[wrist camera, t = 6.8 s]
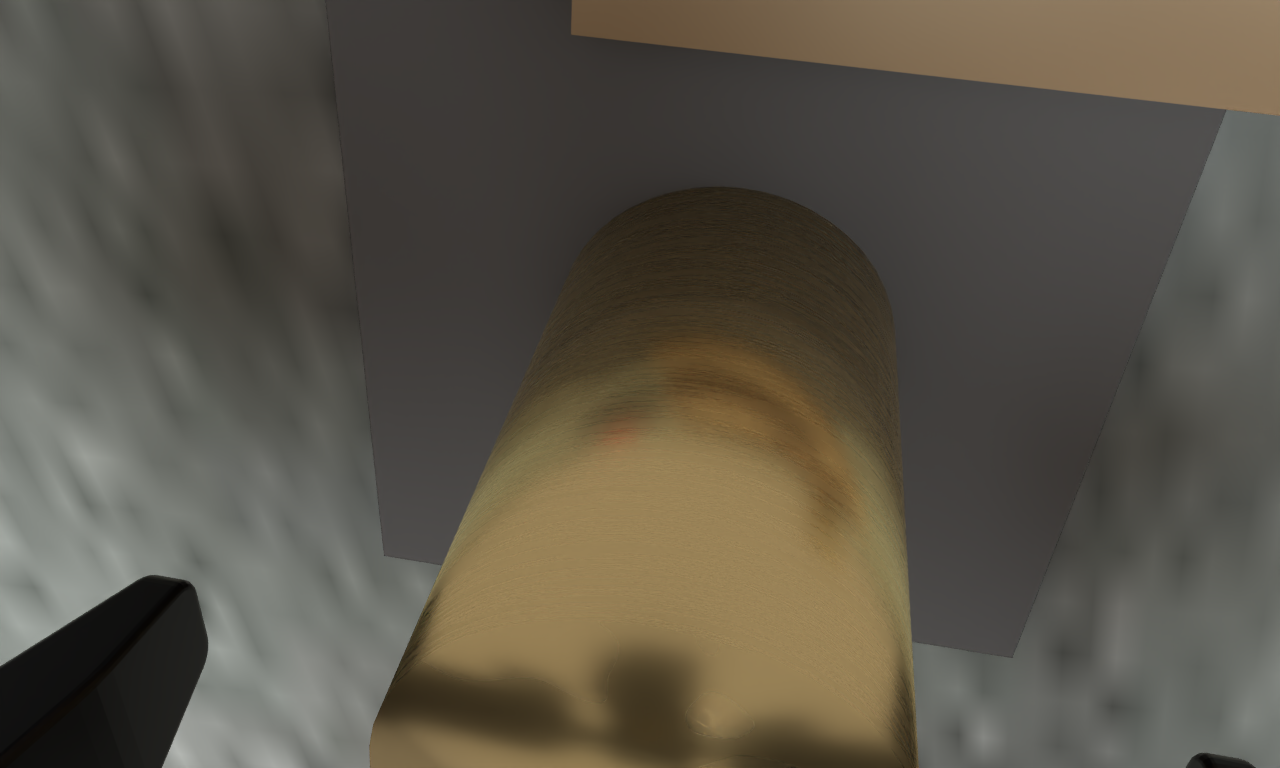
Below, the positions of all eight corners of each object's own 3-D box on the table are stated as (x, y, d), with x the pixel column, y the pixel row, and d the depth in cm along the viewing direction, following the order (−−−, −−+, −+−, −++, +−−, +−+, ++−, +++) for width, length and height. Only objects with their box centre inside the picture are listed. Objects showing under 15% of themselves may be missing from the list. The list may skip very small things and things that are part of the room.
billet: (861, 493, 15) (863, 1002, 10) (556, 446, 16) (390, 910, 10) (928, 211, 13) (986, 681, 7) (561, 164, 13) (344, 574, 8)
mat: (1009, 638, 17) (1012, 657, 17) (392, 538, 18) (383, 555, 18) (1259, -18, 11) (1272, -7, 11) (328, -113, 12) (314, -106, 12)
